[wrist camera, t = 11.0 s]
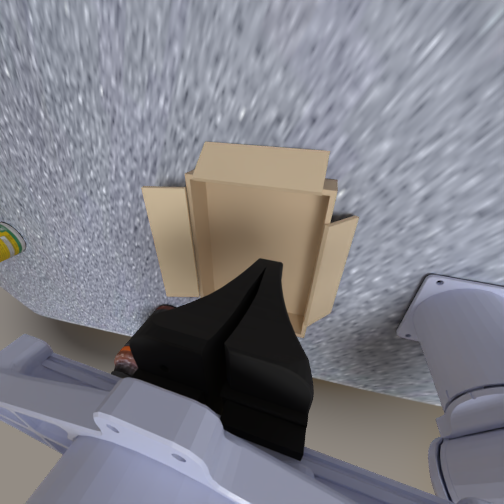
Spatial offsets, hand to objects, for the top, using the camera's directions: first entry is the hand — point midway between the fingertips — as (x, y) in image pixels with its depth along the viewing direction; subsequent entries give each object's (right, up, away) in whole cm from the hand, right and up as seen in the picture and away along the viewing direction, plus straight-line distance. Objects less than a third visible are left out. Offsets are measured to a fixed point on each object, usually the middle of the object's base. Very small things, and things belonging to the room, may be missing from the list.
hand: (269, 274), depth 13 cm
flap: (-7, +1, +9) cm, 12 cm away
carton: (+1, +2, +11) cm, 11 cm away
